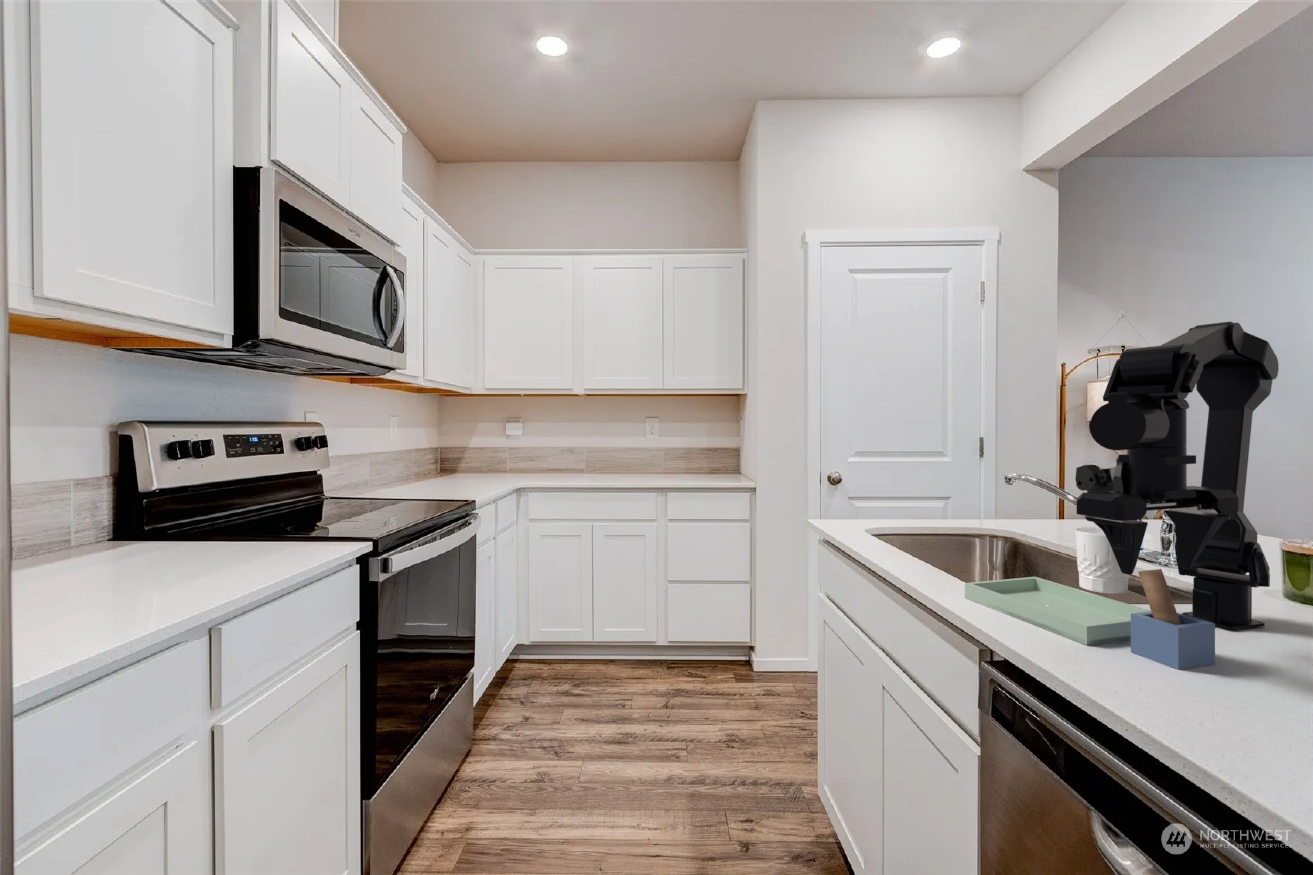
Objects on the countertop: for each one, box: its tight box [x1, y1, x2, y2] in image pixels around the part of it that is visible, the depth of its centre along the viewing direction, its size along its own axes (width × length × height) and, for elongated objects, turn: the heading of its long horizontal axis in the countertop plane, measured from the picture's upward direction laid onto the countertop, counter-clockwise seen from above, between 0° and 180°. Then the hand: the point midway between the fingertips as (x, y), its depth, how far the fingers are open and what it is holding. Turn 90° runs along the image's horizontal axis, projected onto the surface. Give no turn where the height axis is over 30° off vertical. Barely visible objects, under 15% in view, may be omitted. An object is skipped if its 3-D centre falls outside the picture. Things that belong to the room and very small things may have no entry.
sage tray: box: [964, 576, 1151, 646], centre depth 91 cm, size 14×22×2 cm, turn 13°
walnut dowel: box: [1137, 568, 1181, 625], centre depth 75 cm, size 2×6×10 cm, turn 13°
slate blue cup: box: [1130, 610, 1216, 670], centre depth 74 cm, size 6×6×5 cm
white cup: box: [1074, 526, 1130, 595], centre depth 103 cm, size 8×8×10 cm
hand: (1156, 570), depth 75 cm, fingers open, 9 cm apart
